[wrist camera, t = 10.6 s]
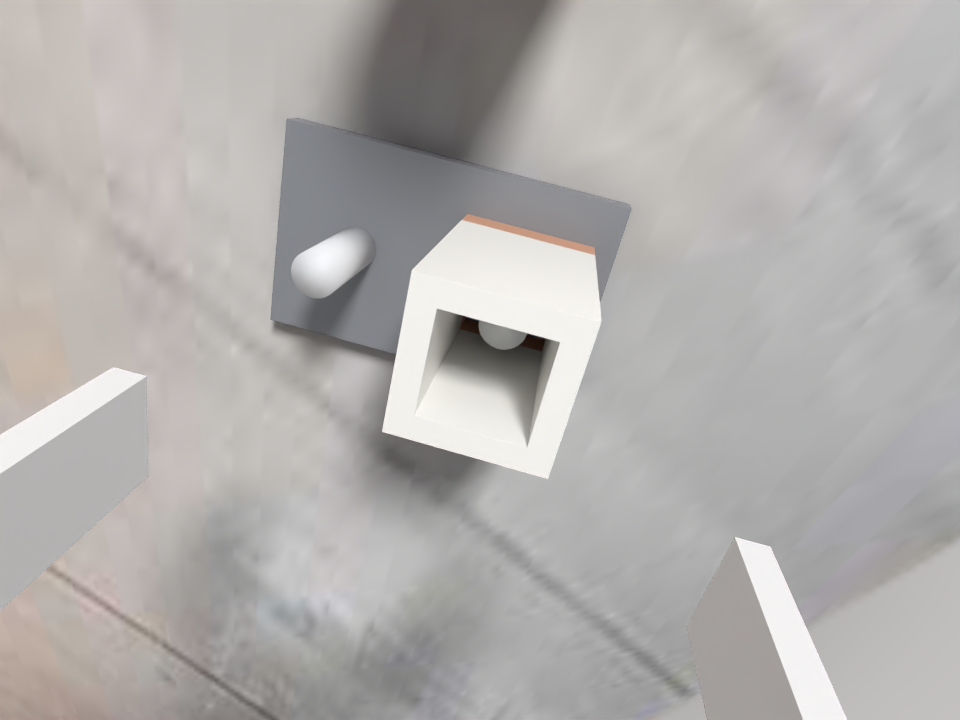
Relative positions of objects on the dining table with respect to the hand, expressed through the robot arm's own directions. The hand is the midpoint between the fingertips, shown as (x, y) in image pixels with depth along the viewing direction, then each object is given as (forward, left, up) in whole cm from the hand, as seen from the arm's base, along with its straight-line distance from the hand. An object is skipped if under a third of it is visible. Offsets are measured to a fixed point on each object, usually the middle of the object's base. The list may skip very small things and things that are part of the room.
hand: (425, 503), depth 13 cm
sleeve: (0, 0, -17) cm, 17 cm away
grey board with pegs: (-4, 0, -18) cm, 18 cm away
